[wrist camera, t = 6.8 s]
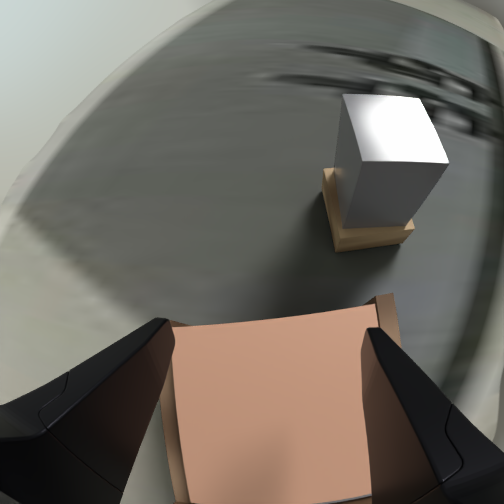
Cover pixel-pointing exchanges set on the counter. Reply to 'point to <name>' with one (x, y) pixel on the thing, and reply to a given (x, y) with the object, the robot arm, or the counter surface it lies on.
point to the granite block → (385, 160)
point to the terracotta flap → (274, 409)
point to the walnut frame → (169, 411)
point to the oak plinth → (357, 236)
